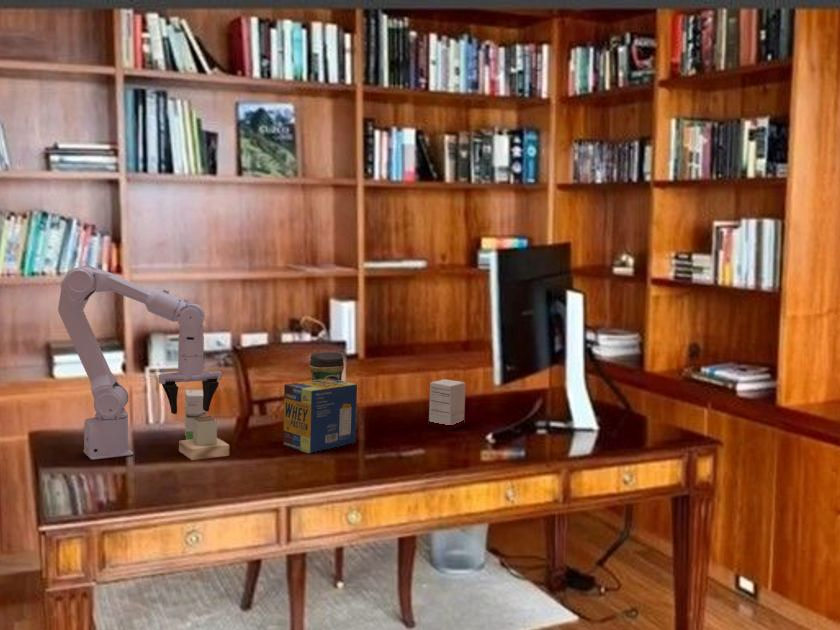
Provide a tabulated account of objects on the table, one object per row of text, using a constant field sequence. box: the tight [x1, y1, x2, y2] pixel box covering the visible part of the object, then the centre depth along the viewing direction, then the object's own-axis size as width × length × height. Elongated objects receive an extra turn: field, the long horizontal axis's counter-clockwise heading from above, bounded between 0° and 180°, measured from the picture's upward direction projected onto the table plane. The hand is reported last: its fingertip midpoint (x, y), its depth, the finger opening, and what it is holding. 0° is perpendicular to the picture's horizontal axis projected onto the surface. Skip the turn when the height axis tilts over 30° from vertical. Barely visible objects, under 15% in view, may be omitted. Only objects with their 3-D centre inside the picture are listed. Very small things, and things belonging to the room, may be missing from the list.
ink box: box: [184, 389, 207, 440], centre depth 218 cm, size 9×5×12 cm, turn 18°
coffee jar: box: [309, 351, 345, 381], centre depth 247 cm, size 10×8×19 cm
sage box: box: [193, 415, 218, 446], centre depth 204 cm, size 4×4×6 cm
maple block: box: [178, 437, 230, 461], centre depth 204 cm, size 9×9×3 cm
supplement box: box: [428, 378, 466, 425], centre depth 239 cm, size 7×7×13 cm
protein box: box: [283, 378, 358, 454], centre depth 215 cm, size 10×15×16 cm
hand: (190, 411), depth 204 cm, fingers open, 7 cm apart
